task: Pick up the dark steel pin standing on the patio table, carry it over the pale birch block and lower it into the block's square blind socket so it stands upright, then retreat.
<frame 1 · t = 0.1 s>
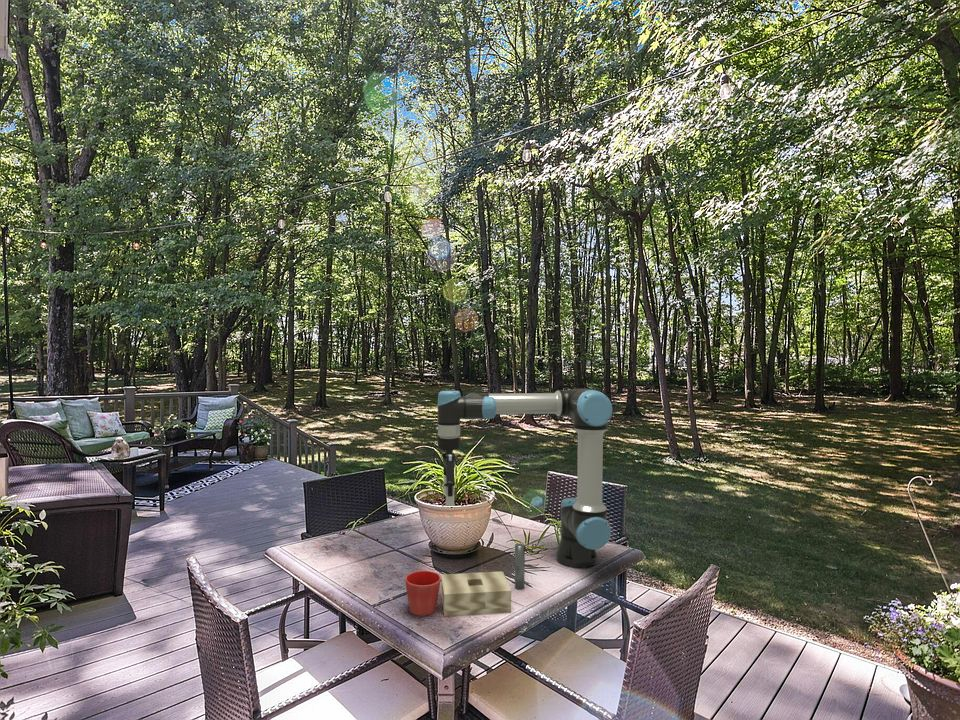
hand: (448, 500, 177), 28 cm above the table, fingers open, 13 cm apart
flower pot: (423, 610, 158), on the table
block: (474, 603, 162), on the table
pin: (519, 587, 173), on the table
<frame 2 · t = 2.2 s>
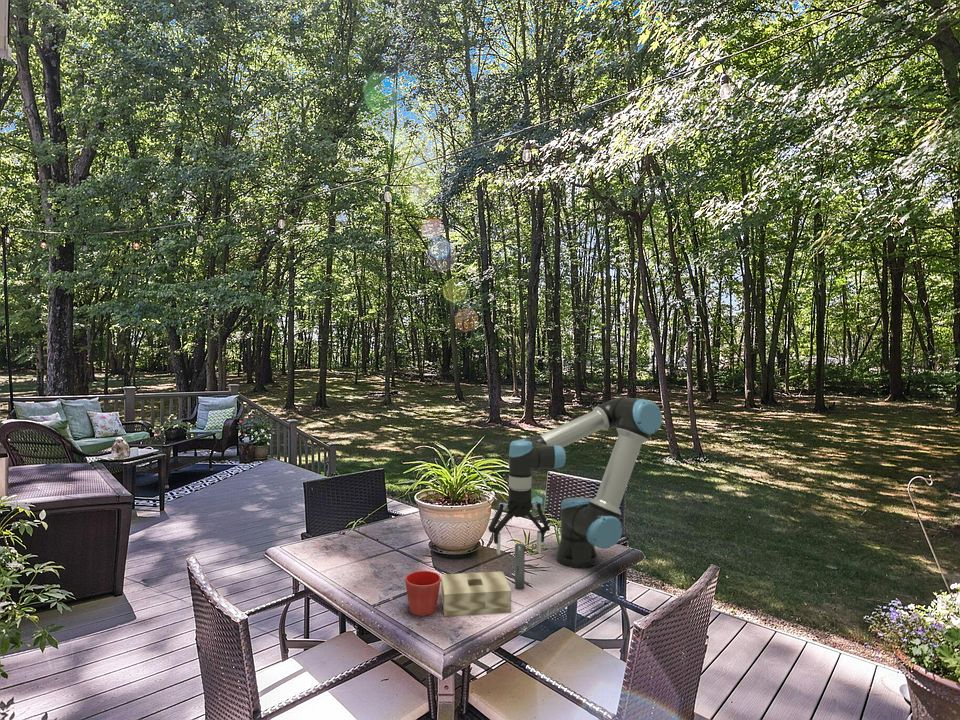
hand: (518, 552, 173), 12 cm above the table, fingers open, 13 cm apart
nothing on the table moved.
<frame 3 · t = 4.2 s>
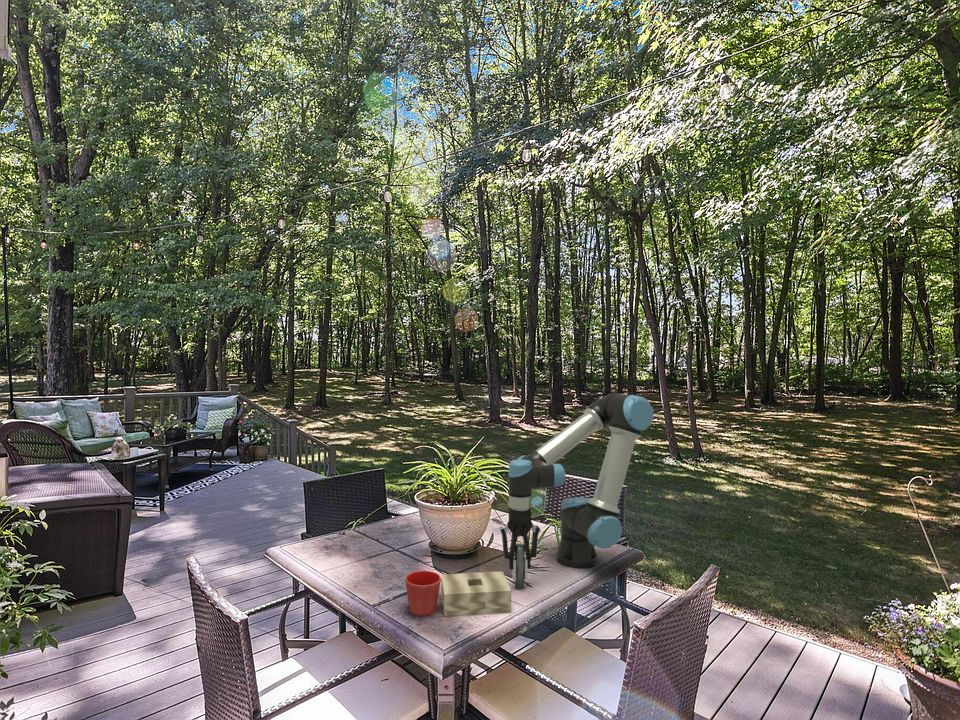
hand: (519, 578, 173), 3 cm above the table, fingers closed on pin, 3 cm apart
pin: (519, 587, 173), on the table, touching gripper
everything else where it was.
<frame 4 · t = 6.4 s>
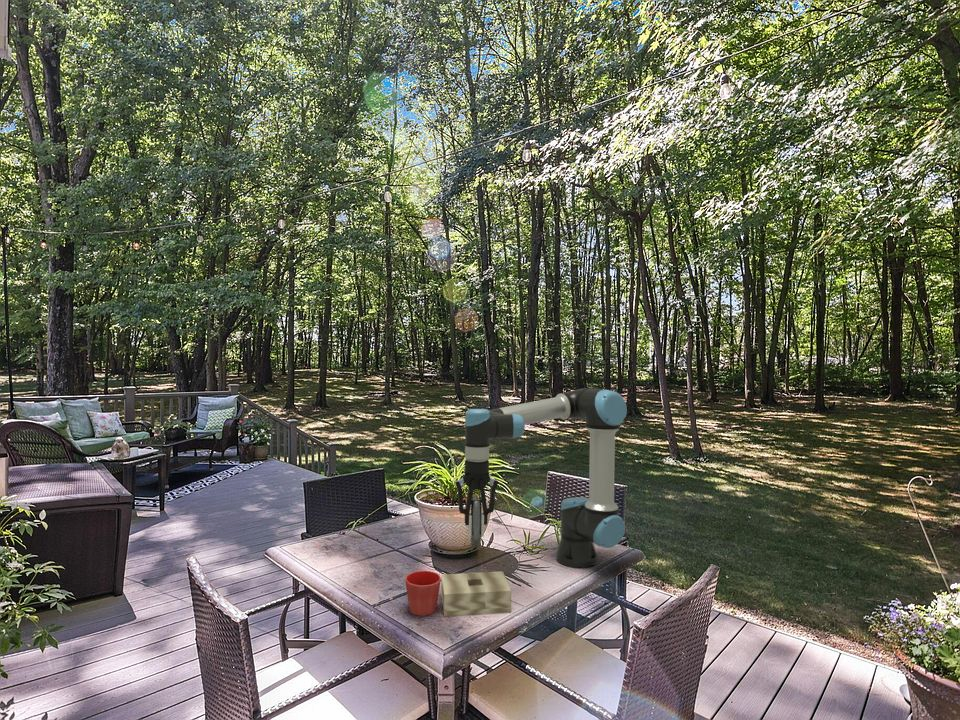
hand: (475, 535, 162), 21 cm above the table, fingers closed on pin, 3 cm apart
pin: (475, 545, 162), point 18 cm above the table, touching gripper
everything else where it was.
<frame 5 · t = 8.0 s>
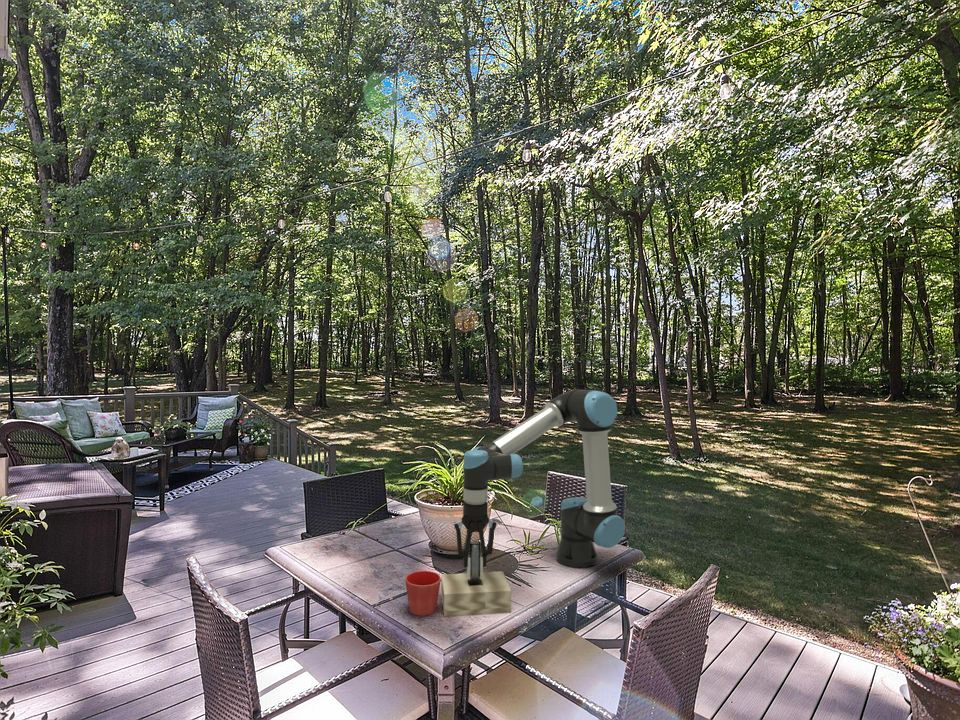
hand: (474, 576, 162), 8 cm above the table, fingers closed on pin, 3 cm apart
pin: (474, 588, 162), point 5 cm above the table, touching gripper
everything else where it was.
when the fingers open (8 cm above the table, at t = 9.0 s): pin drops 2 cm, resting on block.
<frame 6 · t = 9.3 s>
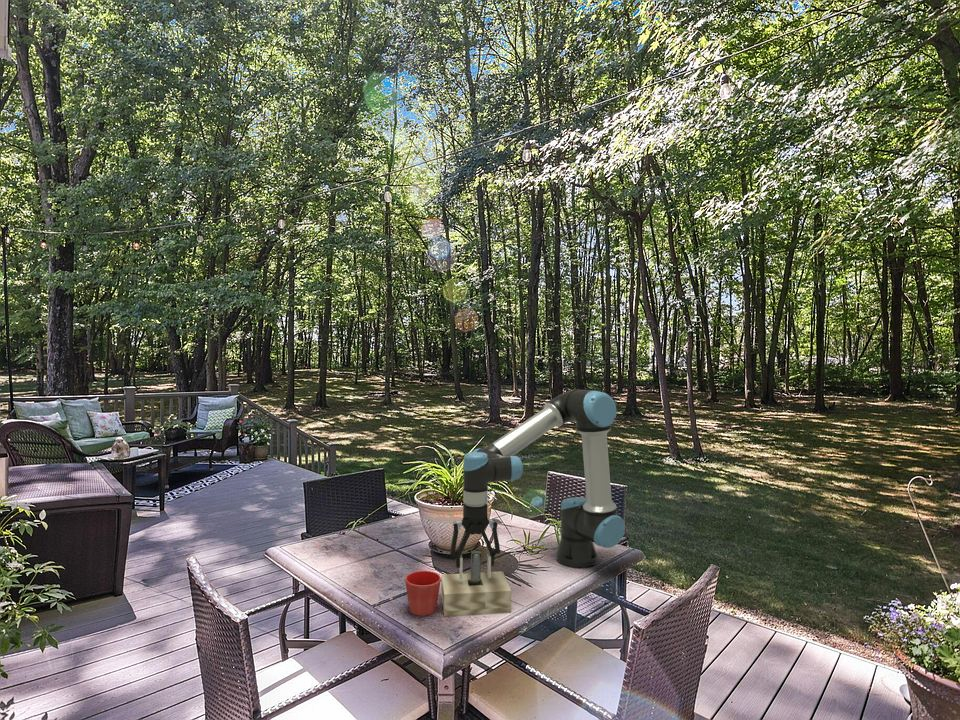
hand: (475, 576, 162), 8 cm above the table, fingers open, 8 cm apart
pin: (474, 597, 162), point 2 cm above the table, touching block
everything else where it was.
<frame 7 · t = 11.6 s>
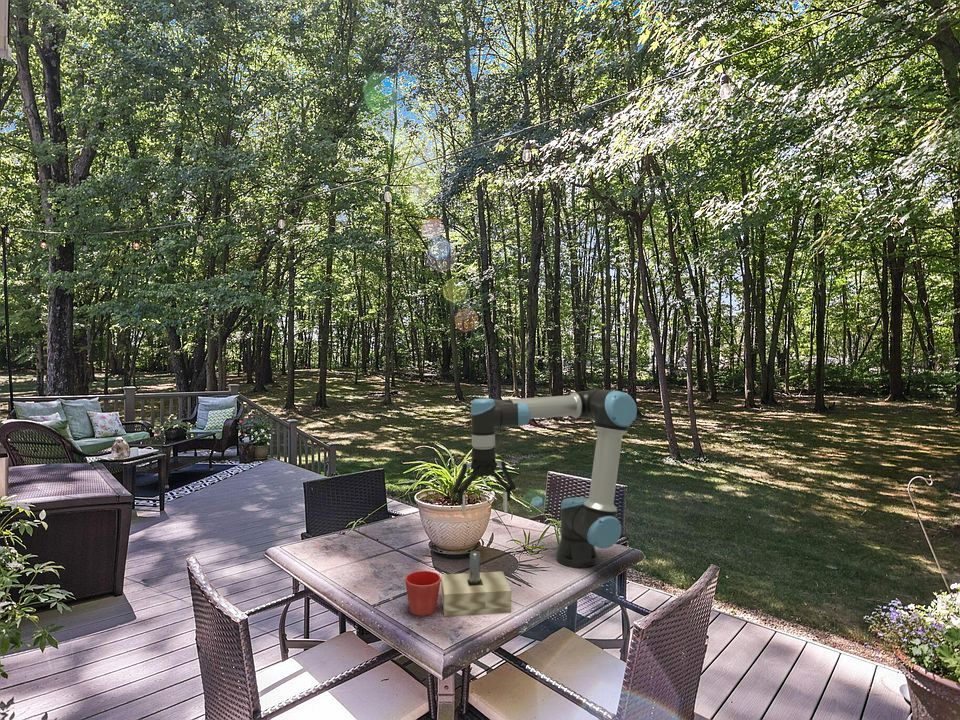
hand: (484, 512, 169), 26 cm above the table, fingers open, 13 cm apart
nothing on the table moved.
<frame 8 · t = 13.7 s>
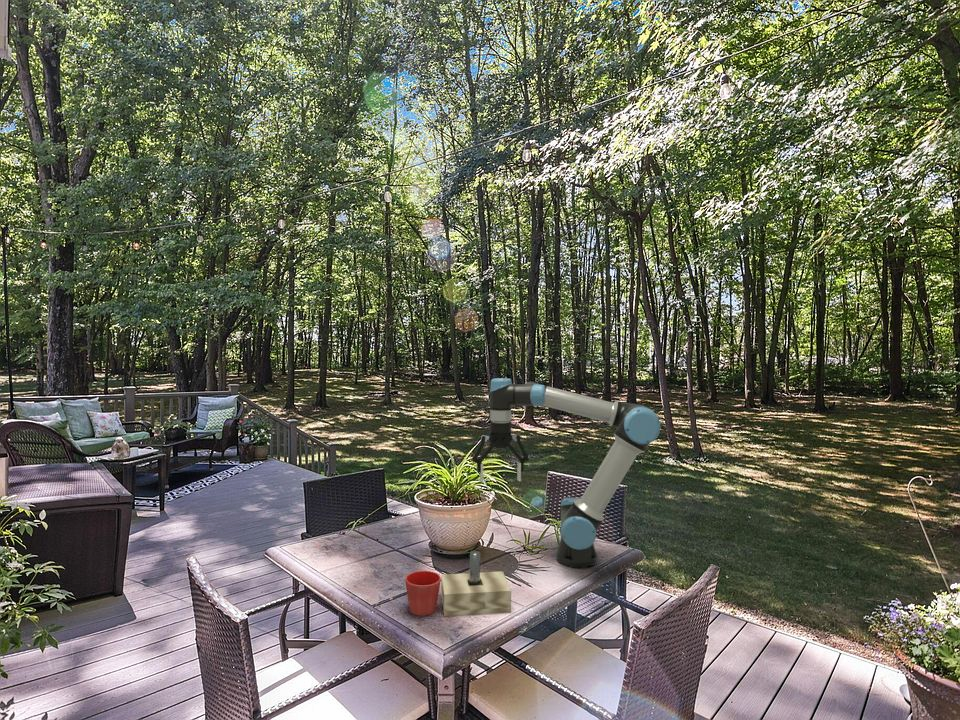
hand: (500, 481, 187), 32 cm above the table, fingers open, 13 cm apart
nothing on the table moved.
at the end: pin 0.2 cm off-centre on the block, point 1.6 cm above the block's base; pin tilted 1°; the gripper is holding nothing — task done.
